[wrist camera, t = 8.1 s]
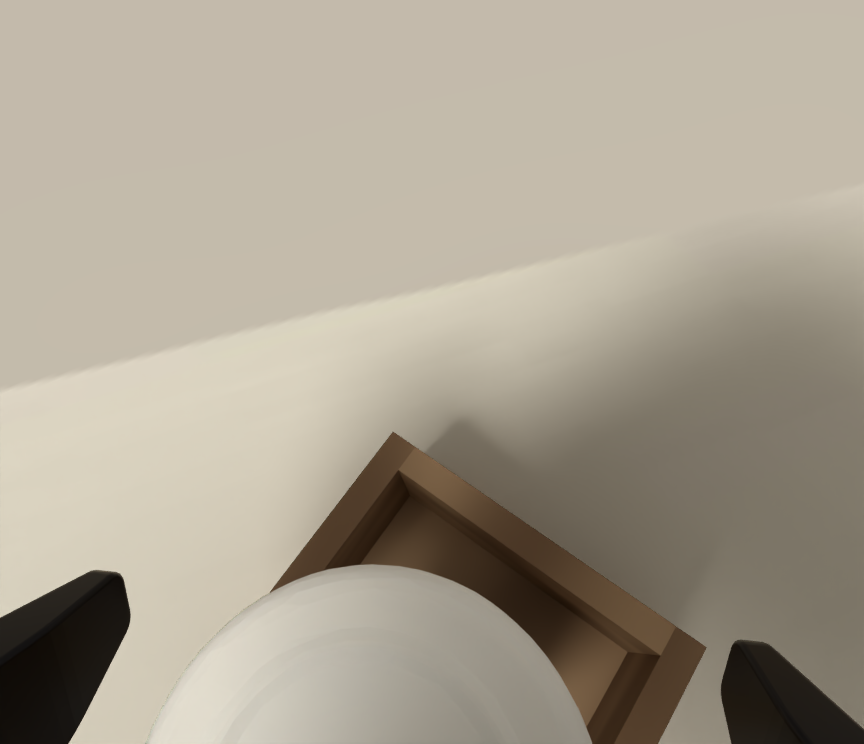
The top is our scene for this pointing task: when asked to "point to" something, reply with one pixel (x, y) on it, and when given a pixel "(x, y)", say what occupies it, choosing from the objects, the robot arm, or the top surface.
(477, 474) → the top surface
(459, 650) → the sprinkles bottle
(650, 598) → the top surface
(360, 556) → the crate
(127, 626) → the robot arm
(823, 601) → the top surface
